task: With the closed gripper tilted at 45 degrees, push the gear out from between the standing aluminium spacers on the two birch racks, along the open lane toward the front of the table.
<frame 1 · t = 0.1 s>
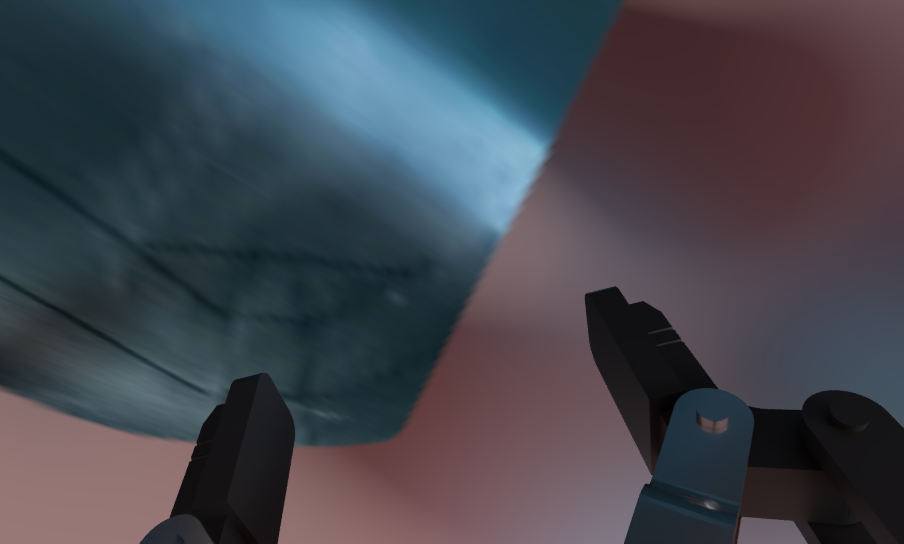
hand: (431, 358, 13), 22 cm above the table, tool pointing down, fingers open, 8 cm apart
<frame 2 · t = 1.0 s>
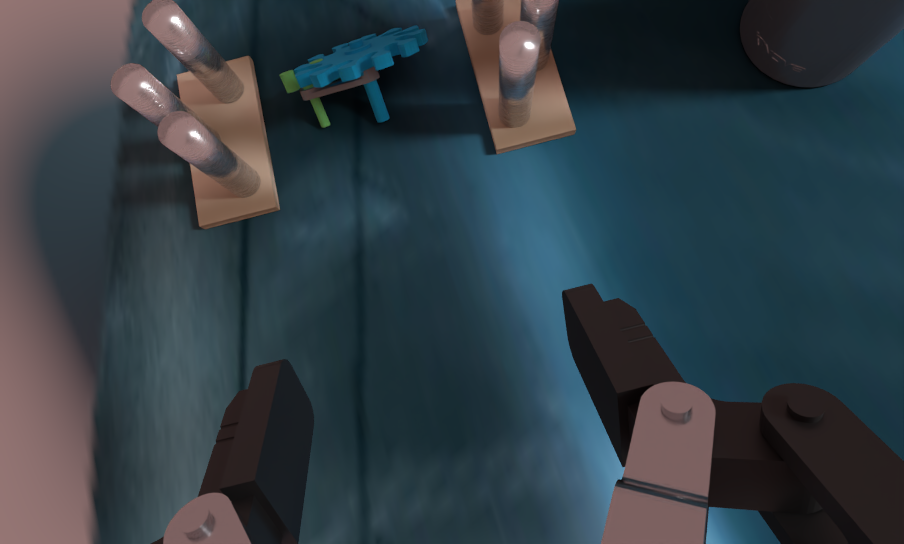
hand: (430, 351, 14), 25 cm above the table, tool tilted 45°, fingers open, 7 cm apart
spacers: (353, 68, 37), on the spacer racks, point 5 cm above the table
gear: (366, 87, 43), on the table
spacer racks: (365, 83, 43), on the table
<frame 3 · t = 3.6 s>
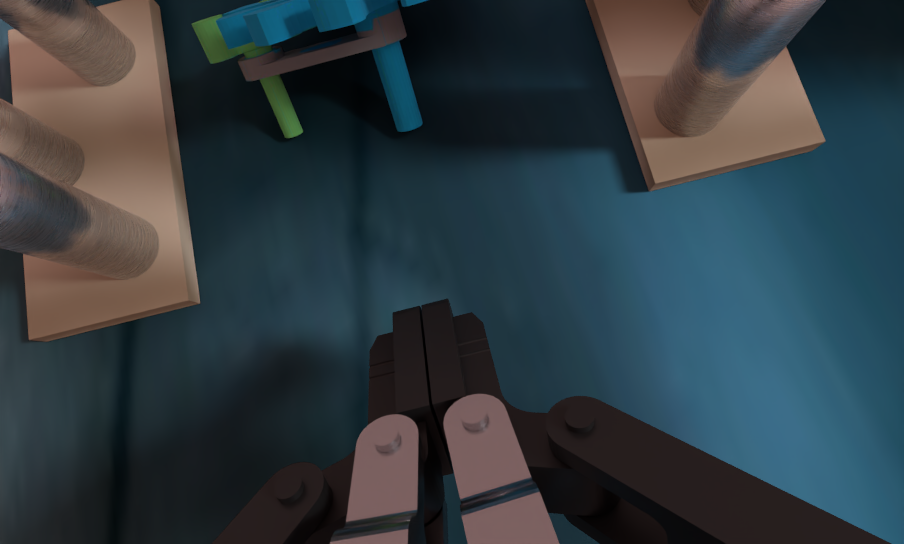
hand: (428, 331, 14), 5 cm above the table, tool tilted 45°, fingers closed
gear: (377, 61, 22), on the table
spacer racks: (375, 48, 22), on the table
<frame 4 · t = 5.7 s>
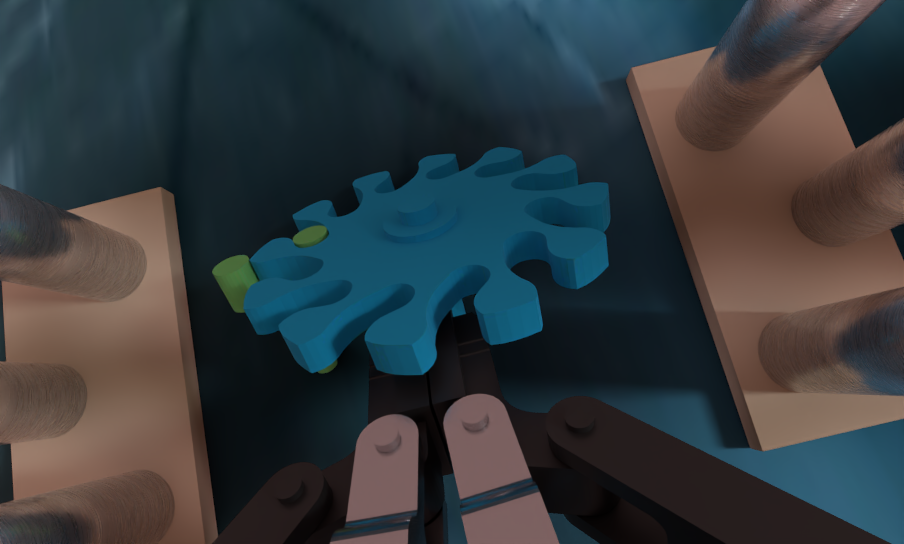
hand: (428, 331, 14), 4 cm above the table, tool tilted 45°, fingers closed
spacers: (415, 282, 13), on the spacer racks, point 5 cm above the table
gear: (424, 272, 19), on the table, touching gripper
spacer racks: (424, 254, 19), on the table
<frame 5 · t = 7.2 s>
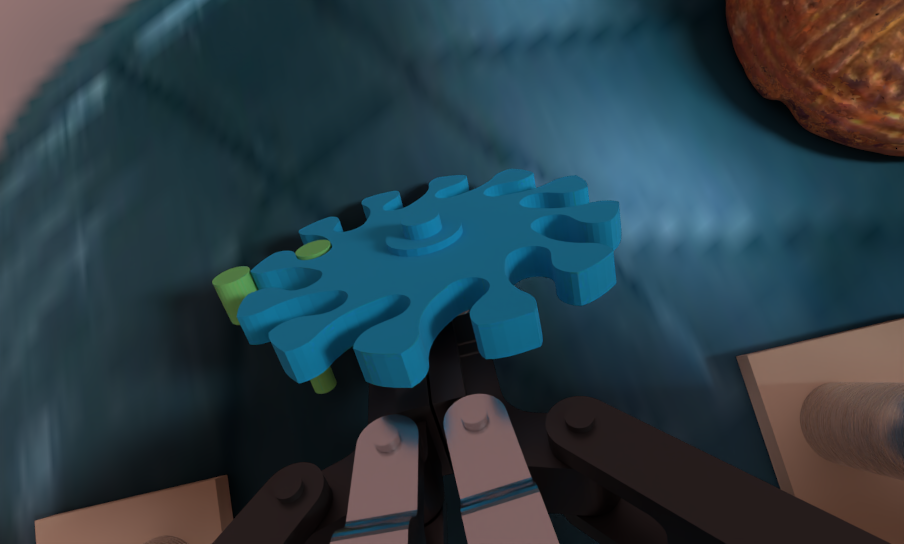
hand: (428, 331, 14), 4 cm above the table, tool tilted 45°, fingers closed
gear: (431, 294, 18), on the table, touching gripper
bell: (881, 13, 20), on the table
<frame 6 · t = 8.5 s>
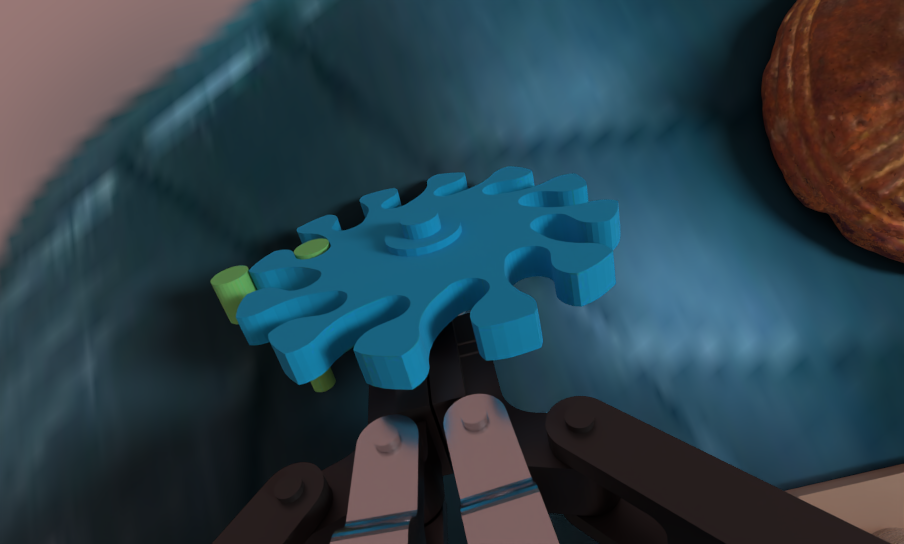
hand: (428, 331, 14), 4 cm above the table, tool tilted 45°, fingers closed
gear: (429, 292, 18), on the table, touching gripper
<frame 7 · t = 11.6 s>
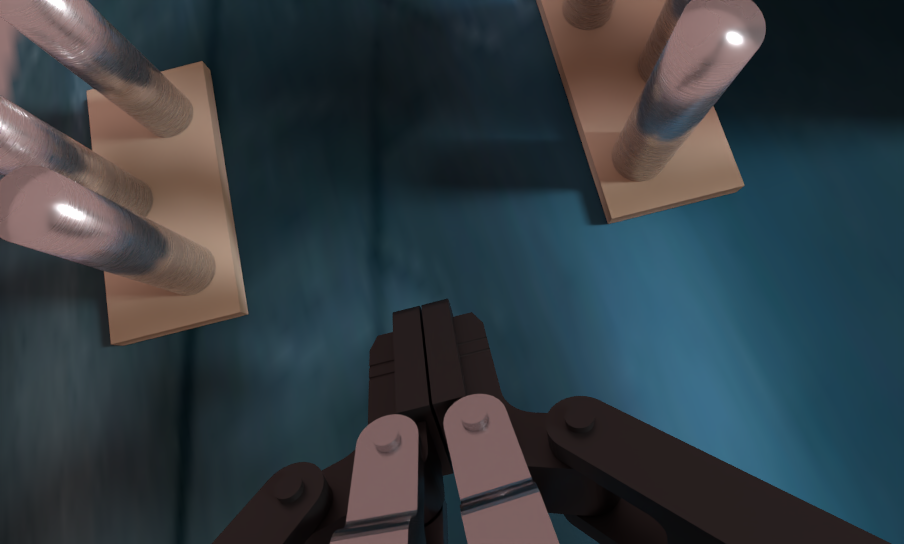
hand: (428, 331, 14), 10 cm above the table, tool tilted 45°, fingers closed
spacers: (375, 81, 21), on the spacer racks, point 5 cm above the table
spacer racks: (388, 106, 27), on the table
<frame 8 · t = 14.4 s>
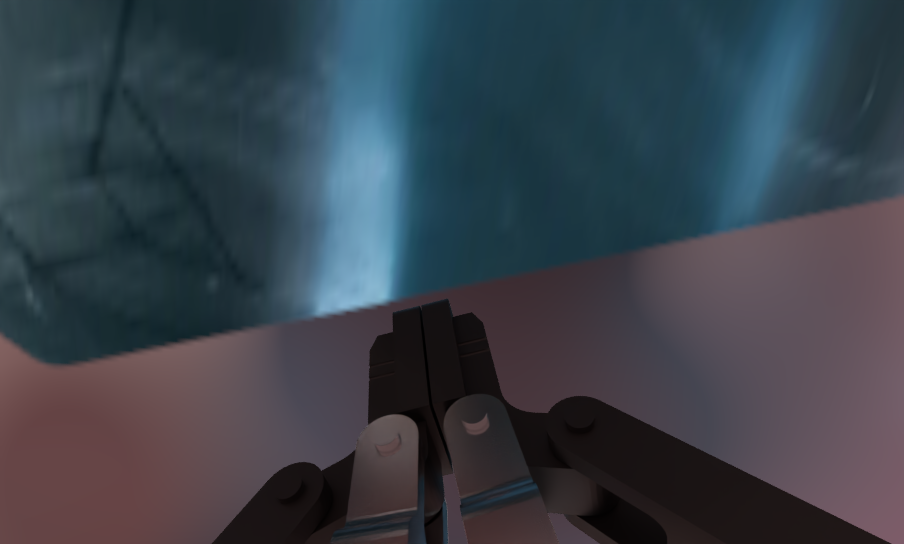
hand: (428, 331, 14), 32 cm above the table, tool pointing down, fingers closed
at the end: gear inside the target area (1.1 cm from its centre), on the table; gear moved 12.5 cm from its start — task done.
